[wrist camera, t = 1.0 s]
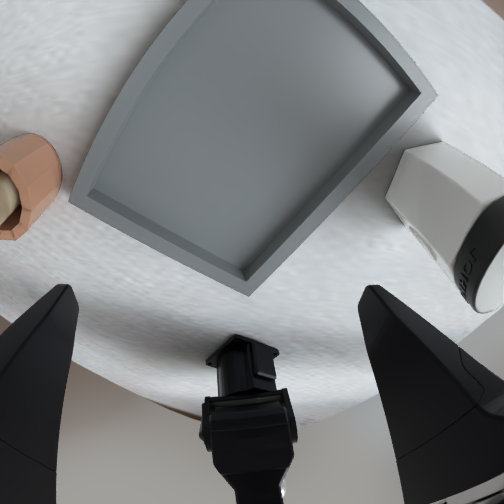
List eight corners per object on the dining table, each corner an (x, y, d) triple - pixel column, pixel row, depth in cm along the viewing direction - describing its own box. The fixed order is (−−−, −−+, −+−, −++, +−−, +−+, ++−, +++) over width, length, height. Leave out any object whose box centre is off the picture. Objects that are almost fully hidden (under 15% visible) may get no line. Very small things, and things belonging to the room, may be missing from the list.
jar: (369, 181, 22) (461, 279, 12) (433, 120, 19) (546, 183, 9) (412, 240, 26) (479, 330, 16) (465, 189, 23) (546, 262, 13)
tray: (246, 280, 26) (248, 296, 25) (78, 189, 19) (68, 201, 17) (422, 90, 17) (438, 95, 15) (259, -58, 10) (263, -69, 8)
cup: (49, 218, 20) (22, 254, 16) (-2, 186, 17) (-34, 215, 13) (72, 154, 17) (39, 181, 13) (15, 121, 15) (-25, 141, 11)
